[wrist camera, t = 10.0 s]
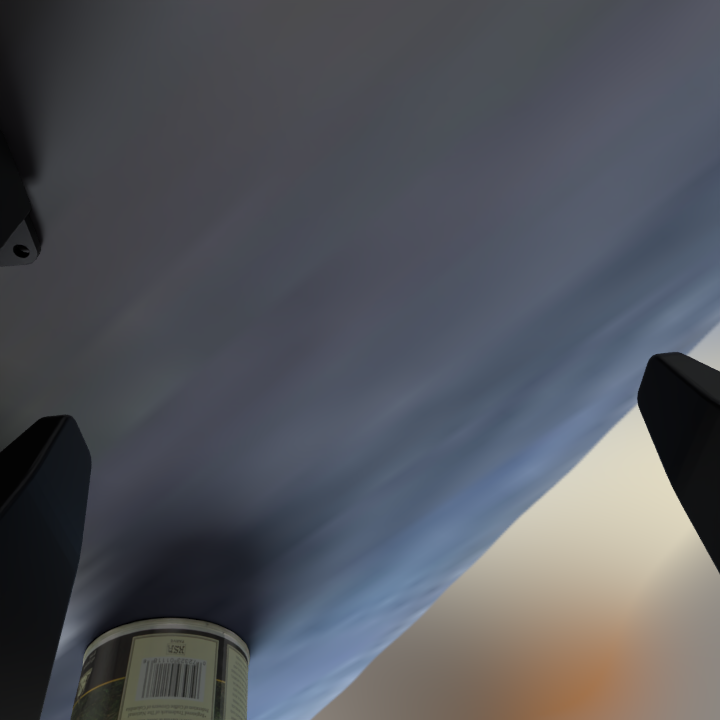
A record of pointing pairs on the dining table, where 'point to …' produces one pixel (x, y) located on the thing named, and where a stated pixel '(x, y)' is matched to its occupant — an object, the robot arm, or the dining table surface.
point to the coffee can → (164, 673)
